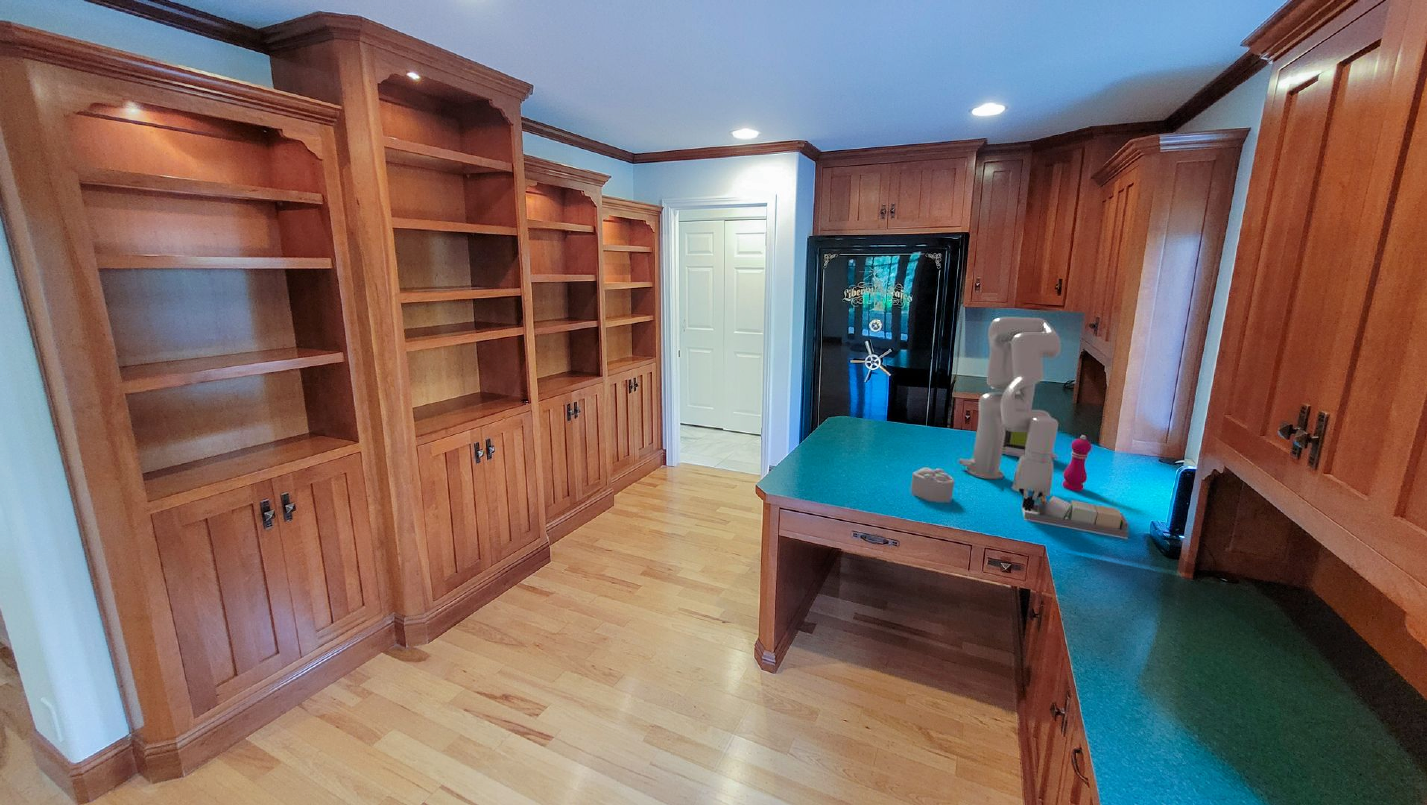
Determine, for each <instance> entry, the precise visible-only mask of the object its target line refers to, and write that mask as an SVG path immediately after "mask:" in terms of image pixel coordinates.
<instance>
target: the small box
mask: <svg viewBox="0 0 1427 805" xmlns="http://www.w3.org/2000/svg"><path fill="white" fill-rule="evenodd" d="M1070 503H1071V502H1068V501H1066V500H1063V499H1061V498H1059V497H1057V496H1054V495H1053V496H1052V497H1051V498H1050V499H1048V501H1046V506H1045V510H1044V514H1043V515H1045V516H1050V517H1056V518H1061V519H1065V517H1066V516H1067V515H1068V512H1069V510H1070V508H1071V506H1072V504H1070Z"/></svg>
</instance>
